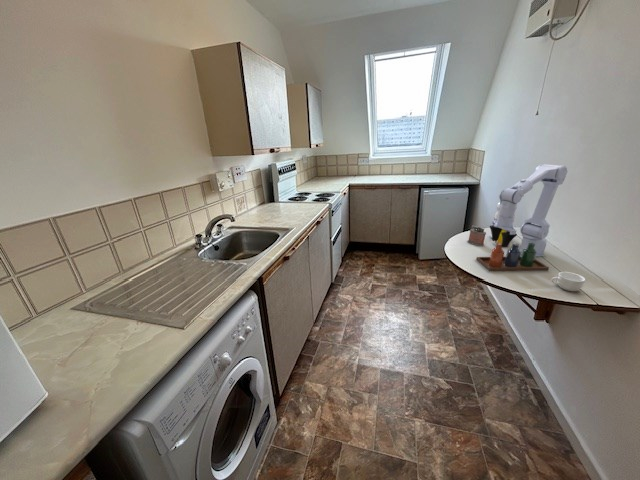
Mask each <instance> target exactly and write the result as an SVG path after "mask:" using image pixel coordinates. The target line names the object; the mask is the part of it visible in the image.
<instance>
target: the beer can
mask: <svg viewBox="0 0 640 480" xmlns="http://www.w3.org/2000/svg"><path fill="white" fill-rule="evenodd" d="M513 225H514V222H512V226H513ZM513 227H514V226H513ZM501 232H507V231H505V230H503V229H502V231H501ZM496 243H501V244H502V234H501V233H500V235H499V238H498V240H497V241H494V244H495V246H496Z"/></svg>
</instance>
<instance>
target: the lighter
mask: <svg viewBox="0 0 640 480" xmlns="http://www.w3.org/2000/svg"><path fill="white" fill-rule="evenodd" d="M486 235H487V232H486V231H485V228H484V227H482V226H478V225H477V226H476V225H472V226H471V228H470V229H469V236H468V240H467V243H469V244H471V245H475V246H480V247H483V246H484V244H485V238H486Z"/></svg>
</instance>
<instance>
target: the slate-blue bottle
mask: <svg viewBox="0 0 640 480" xmlns="http://www.w3.org/2000/svg"><path fill="white" fill-rule="evenodd" d="M519 246H520V244H518V243H515V242H514V243H512V245H511V247H509V249H507V251H506V254H505V257H506V258H505V262H504V265H506V266H508V267H517V264H518V260H519V257H520V256H521V252H520V251H519V249H520V247H519Z"/></svg>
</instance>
